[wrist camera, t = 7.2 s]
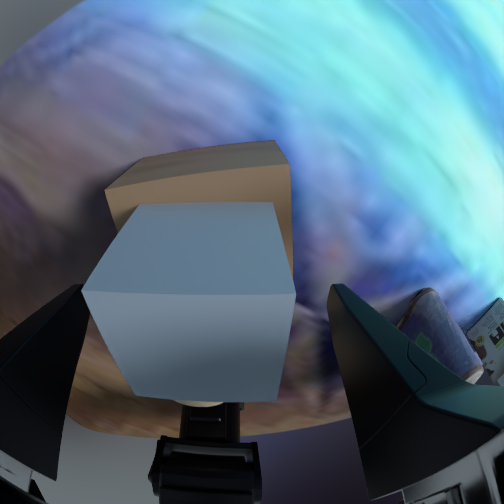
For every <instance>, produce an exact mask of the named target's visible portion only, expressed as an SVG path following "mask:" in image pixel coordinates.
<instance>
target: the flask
mask: <svg viewBox="0 0 504 504" xmlns="http://www.w3.org/2000/svg"><path fill="white" fill-rule="evenodd" d="M409 306H410V308H409V309H408V311H407V312H406V314H404V316H403V317H402V318H401V320H400V321H399V323H398V324H397V328H398V329H399V330H400V331H401V332H402V333H404V334H405V335H406V336H407V337H408V338H409V339H411V340H412V341H413V342H414V343H415V344H417V345H418V346H419V347H420V348H421V349H423V350H424V351H425V352H426V353H428V354H429V355H430V356H432V357H433V358H434V359H436V360H437V361H438V362H440V363H441V364H442V365H444V366H445V367H447V368H448V369H449V370H451V371H452V372H454V373H455V374H456V375H458V376H459V377H460V378H462V379H463V380H465V381H467V382H469V383H472V384H474V383H475V382H476V381H477V380H478V379H479V377H480V376H481V375H482V373H483V367H482V365H481V363H480V361H479V360H478V358H477V356H476V355H475V353H474V351H473V349H472V348H471V346H470V344H469V343H468V341H467V339H466V337H465V335H464V334H463V332H462V330H461V329H460V327H459V326H458V324H457V323H456V322H455V320H454V318H453V317H452V315H451V314H450V312H449V310H448V309H447V308H446V306H445V304H444V303H443V301H442V300H441V298H440V297H439V295H438V293H437V292H436V291H435V290H433V289H432V288H429V289H426V288H425V289H424V288H423V289H422V291H421V293H419V294H418V295H417V296H416V297H415V298H414V299H413V300H412V302H411V303H410V305H409Z"/></svg>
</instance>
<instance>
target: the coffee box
mask: <svg viewBox="0 0 504 504" xmlns="http://www.w3.org/2000/svg"><path fill="white" fill-rule="evenodd" d="M466 335H467V337H468V338H469V340H470V342H471V343H472V345H473V347H474V349H475V350H476V352H477V354H478V356H479V357H480V359H481V361H482V363H483V365H484V366H485V368H486V370H487V372H488V374H489V376H490V378H491V380H492V382H493V384H494V386H504V301H503V299H502V298H499V299H498V300H497V301H496V303H495V304H494V305H493V306H492V307H491V308H490V309H489V310H488V312H487V313H486V314H485V315H484V316H483V317H482V318H481V319H480V320H479V321H478V322H477V323H476V324H475V325H474V326H473V327H472V328H471V329H470V330H469V331H468V332H467V334H466Z"/></svg>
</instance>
